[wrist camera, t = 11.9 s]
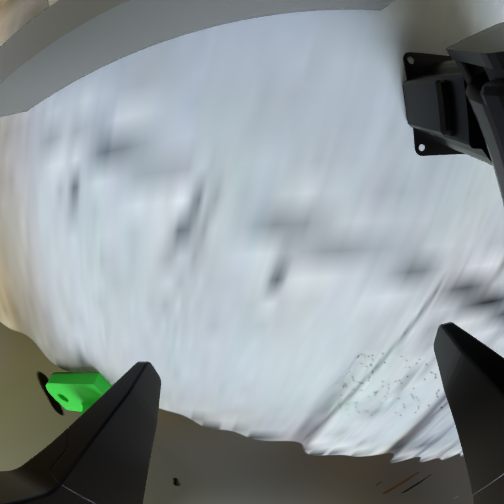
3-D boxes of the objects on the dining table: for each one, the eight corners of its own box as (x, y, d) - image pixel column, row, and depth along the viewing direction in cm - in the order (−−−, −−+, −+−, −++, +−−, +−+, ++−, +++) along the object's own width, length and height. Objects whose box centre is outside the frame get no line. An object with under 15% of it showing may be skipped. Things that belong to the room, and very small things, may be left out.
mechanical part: (100, 371, 27) (73, 428, 20) (129, 402, 30) (110, 456, 23) (45, 372, 30) (20, 415, 23) (71, 399, 33) (51, 441, 26)
